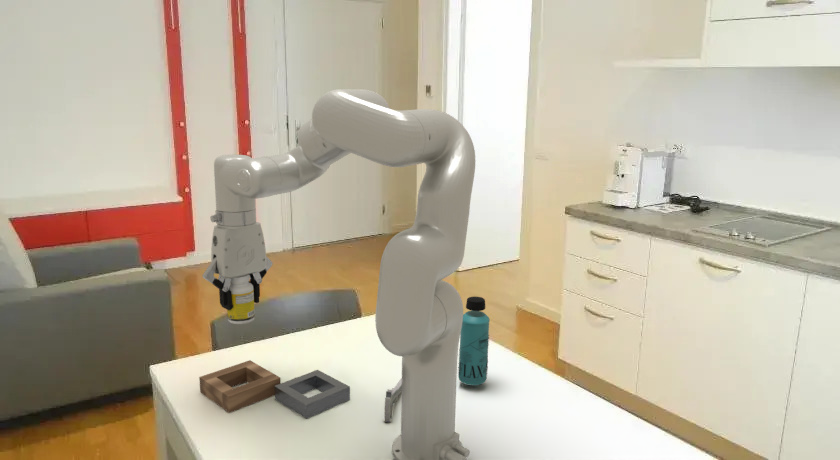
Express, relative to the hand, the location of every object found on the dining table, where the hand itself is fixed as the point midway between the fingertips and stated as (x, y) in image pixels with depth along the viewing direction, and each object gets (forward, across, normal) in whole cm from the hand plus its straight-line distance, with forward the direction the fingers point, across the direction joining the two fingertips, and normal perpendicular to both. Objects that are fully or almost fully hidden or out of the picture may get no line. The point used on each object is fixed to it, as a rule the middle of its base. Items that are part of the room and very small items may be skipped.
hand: (240, 303), depth 127 cm
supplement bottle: (+4, 0, 0) cm, 4 cm away
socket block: (+20, +8, -12) cm, 25 cm away
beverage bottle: (+20, +38, -31) cm, 53 cm away
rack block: (+20, 0, +1) cm, 20 cm away
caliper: (+20, +22, -24) cm, 38 cm away
